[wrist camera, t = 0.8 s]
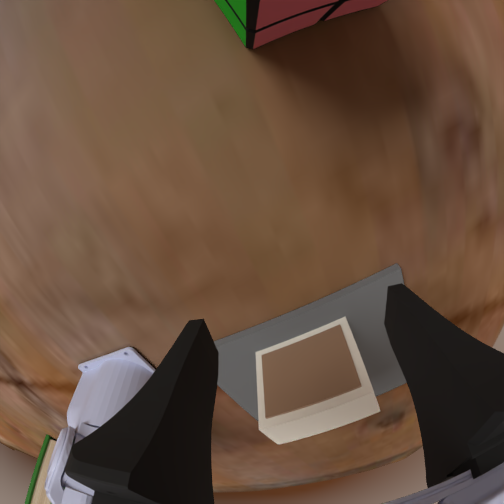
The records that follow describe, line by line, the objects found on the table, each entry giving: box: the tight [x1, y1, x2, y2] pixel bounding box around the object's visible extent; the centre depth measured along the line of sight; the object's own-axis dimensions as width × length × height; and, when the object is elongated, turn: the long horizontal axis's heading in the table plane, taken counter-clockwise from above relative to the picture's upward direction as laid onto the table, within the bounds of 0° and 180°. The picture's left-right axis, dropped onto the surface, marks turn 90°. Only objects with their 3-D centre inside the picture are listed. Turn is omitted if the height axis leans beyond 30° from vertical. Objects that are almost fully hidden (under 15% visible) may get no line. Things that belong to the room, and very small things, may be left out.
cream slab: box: [256, 317, 380, 445], centre depth 22 cm, size 8×4×8 cm, turn 117°
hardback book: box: [25, 435, 65, 504], centre depth 35 cm, size 18×7×24 cm, turn 3°
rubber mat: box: [214, 263, 407, 422], centre depth 28 cm, size 20×18×1 cm
